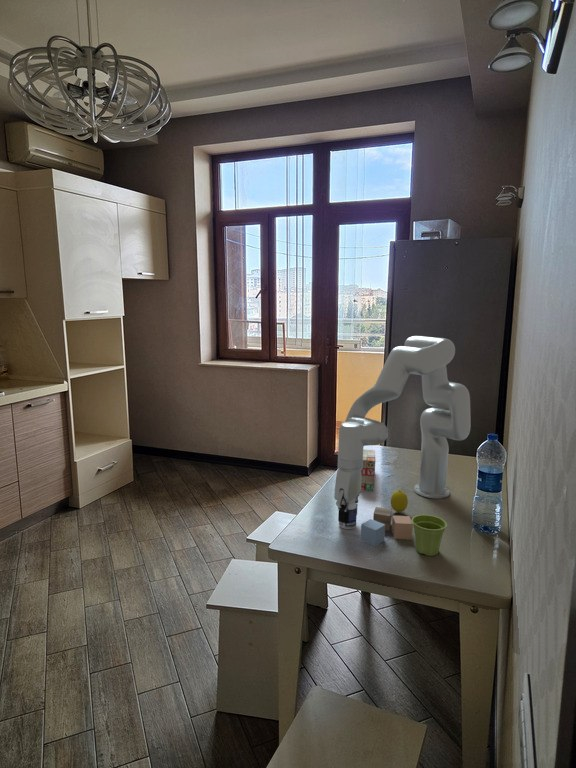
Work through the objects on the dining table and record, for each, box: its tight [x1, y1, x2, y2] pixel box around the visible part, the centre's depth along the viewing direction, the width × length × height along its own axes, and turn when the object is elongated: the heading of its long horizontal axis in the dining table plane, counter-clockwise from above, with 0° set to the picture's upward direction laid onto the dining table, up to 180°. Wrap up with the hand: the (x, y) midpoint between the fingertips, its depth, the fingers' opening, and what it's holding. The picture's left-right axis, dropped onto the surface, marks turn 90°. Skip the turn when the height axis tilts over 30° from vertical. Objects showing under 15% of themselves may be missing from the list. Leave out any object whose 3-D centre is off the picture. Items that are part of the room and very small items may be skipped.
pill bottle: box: [338, 498, 358, 530], centre depth 146 cm, size 5×5×10 cm
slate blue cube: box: [360, 518, 386, 547], centre depth 138 cm, size 5×5×5 cm
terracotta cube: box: [391, 515, 414, 540], centre depth 141 cm, size 5×5×5 cm
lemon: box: [390, 489, 409, 514], centre depth 156 cm, size 6×6×8 cm
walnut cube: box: [372, 506, 393, 532], centre depth 147 cm, size 5×5×5 cm
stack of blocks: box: [361, 448, 376, 492], centre depth 183 cm, size 21×6×12 cm, turn 170°
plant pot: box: [411, 514, 448, 557], centre depth 132 cm, size 9×9×9 cm
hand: (347, 517), depth 146 cm, fingers closed on pill bottle, 5 cm apart
